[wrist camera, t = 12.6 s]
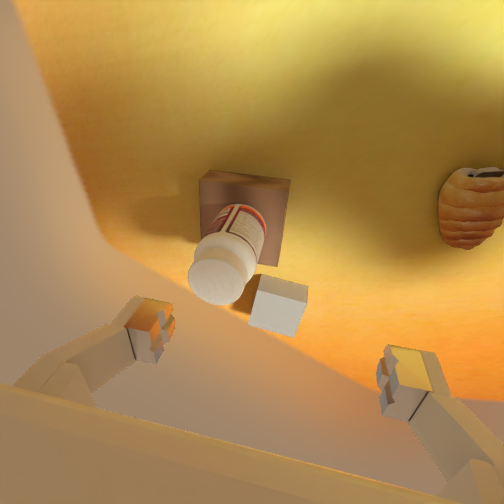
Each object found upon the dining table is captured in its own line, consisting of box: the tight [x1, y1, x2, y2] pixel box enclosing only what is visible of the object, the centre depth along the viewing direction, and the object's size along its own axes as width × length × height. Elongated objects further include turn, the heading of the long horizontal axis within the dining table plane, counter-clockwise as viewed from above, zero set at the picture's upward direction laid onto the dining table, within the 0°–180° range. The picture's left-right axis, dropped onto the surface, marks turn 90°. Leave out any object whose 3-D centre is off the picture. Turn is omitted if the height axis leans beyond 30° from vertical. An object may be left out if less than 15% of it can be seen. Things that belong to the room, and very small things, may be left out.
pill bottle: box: [188, 204, 266, 305], centre depth 31 cm, size 6×6×11 cm
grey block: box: [248, 274, 308, 338], centre depth 44 cm, size 7×7×4 cm
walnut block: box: [199, 170, 290, 267], centre depth 37 cm, size 10×10×4 cm
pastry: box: [438, 167, 504, 250], centre depth 32 cm, size 9×7×4 cm
